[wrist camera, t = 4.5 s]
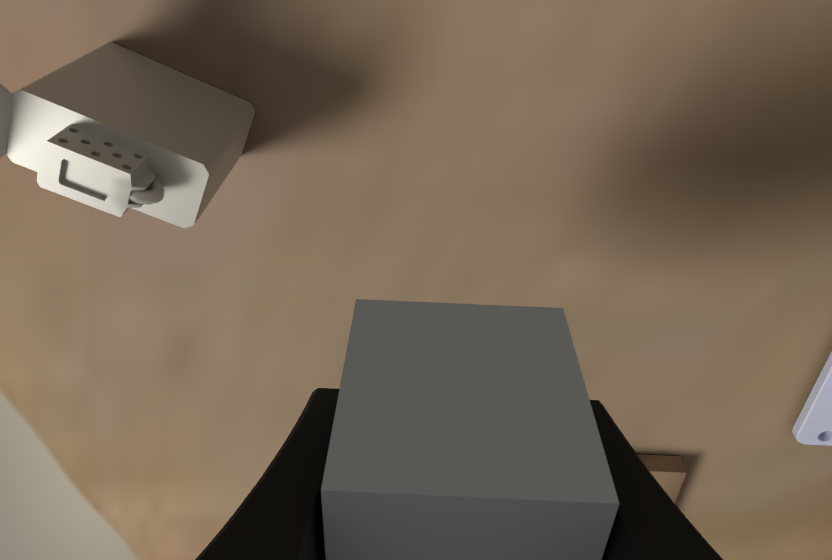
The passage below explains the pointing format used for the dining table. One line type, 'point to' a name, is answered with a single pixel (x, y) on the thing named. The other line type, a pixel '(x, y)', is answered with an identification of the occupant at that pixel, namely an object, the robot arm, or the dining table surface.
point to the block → (464, 439)
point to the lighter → (126, 134)
